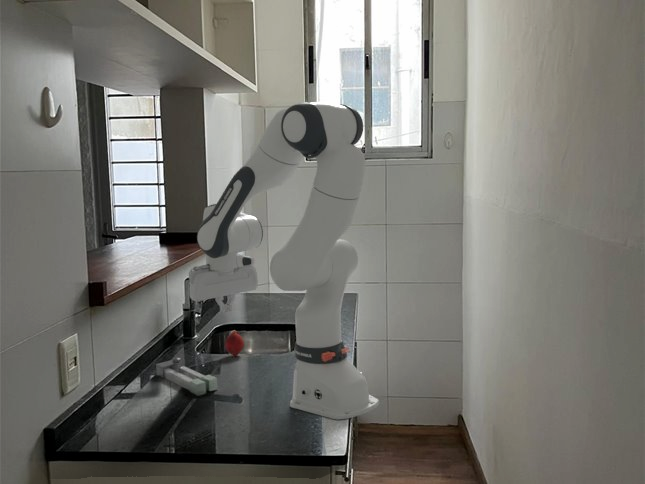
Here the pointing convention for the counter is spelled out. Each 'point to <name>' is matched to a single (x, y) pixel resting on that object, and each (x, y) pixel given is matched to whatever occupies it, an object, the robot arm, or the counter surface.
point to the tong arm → (197, 376)
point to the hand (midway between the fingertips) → (226, 311)
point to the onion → (234, 343)
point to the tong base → (180, 377)
